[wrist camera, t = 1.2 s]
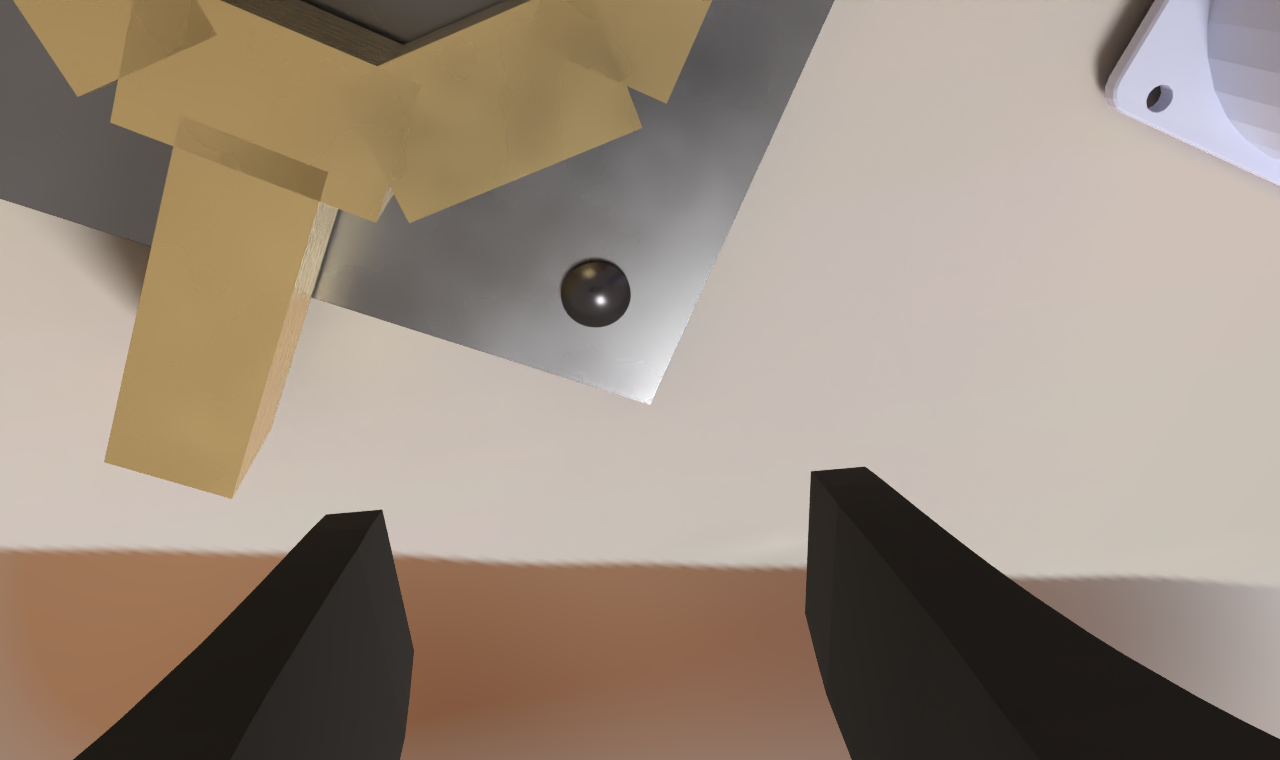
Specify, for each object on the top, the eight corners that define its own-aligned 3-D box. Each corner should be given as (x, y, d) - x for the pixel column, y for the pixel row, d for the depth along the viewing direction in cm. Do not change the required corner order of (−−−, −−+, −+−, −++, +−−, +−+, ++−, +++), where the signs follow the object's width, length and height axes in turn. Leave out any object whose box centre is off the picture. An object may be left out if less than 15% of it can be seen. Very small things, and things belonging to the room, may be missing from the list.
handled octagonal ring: (51, -939, 10) (-84, -1170, 8) (862, -416, 13) (923, -482, 11) (-84, 319, 17) (-181, 380, 15) (474, 492, 20) (463, 565, 18)
